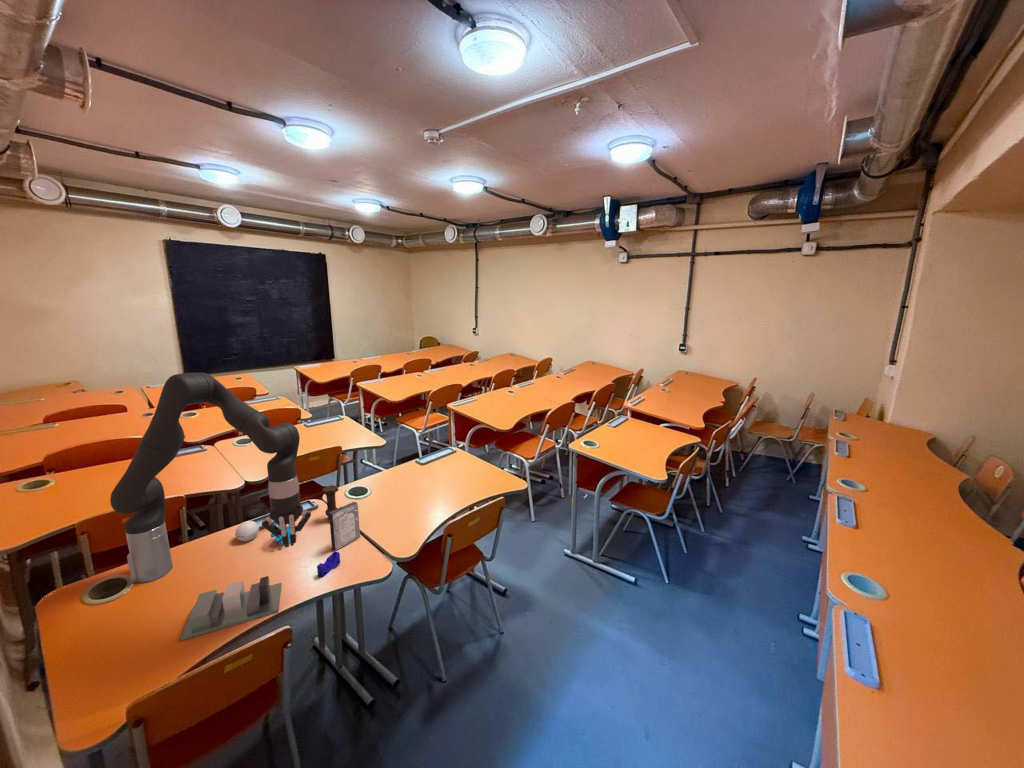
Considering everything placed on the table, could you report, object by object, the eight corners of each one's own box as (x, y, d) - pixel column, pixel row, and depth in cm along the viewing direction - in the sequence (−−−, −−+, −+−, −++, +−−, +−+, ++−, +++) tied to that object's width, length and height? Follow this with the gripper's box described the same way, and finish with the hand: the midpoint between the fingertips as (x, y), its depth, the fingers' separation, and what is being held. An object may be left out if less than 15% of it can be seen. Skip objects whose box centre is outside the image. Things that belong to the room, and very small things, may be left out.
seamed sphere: (232, 541, 142) (230, 523, 140) (254, 531, 148) (252, 514, 147) (245, 550, 137) (243, 532, 135) (267, 540, 143) (265, 522, 141)
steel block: (224, 617, 106) (222, 598, 105) (229, 602, 111) (226, 584, 110) (242, 612, 108) (239, 594, 107) (245, 598, 113) (243, 580, 112)
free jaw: (247, 615, 107) (244, 596, 106) (252, 591, 116) (250, 574, 114) (267, 609, 109) (265, 591, 108) (271, 586, 118) (269, 569, 117)
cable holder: (332, 560, 133) (331, 550, 132) (340, 562, 132) (339, 552, 131) (314, 575, 125) (313, 565, 124) (322, 578, 124) (322, 567, 123)
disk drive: (335, 551, 137) (332, 514, 134) (331, 548, 139) (328, 511, 136) (360, 537, 146) (358, 502, 143) (356, 535, 147) (354, 500, 144)
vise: (181, 640, 100) (178, 624, 99) (194, 608, 110) (191, 593, 109) (278, 612, 110) (276, 597, 109) (281, 585, 120) (280, 571, 119)
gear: (287, 548, 137) (266, 529, 135) (276, 558, 138) (256, 539, 136) (304, 530, 148) (285, 513, 146) (294, 539, 148) (275, 522, 147)
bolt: (342, 521, 156) (339, 488, 153) (330, 526, 152) (327, 492, 149) (335, 516, 160) (332, 483, 157) (323, 521, 156) (320, 488, 153)
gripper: (255, 502, 104) (261, 558, 107) (310, 492, 110) (315, 545, 113) (258, 490, 110) (265, 543, 114) (310, 482, 116) (315, 532, 120)
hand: (290, 544), depth 113 cm, fingers closed
